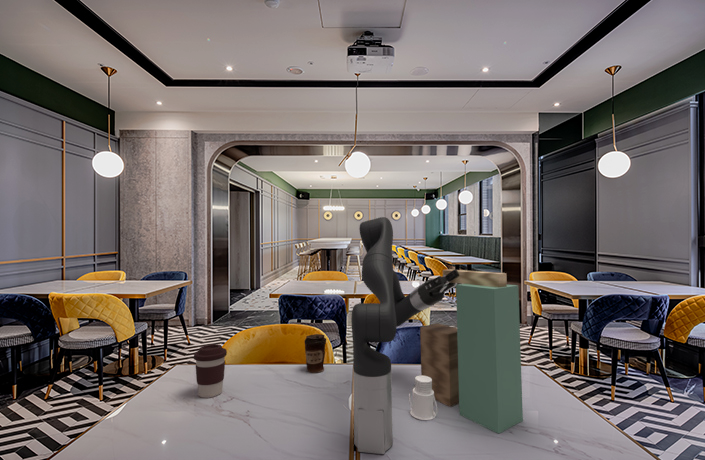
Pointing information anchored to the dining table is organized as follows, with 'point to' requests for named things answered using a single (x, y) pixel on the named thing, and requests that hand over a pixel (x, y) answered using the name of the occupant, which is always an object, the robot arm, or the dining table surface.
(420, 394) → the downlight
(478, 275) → the beech bar
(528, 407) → the dining table surface
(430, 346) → the walnut block
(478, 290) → the green stand
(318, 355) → the coffee cup
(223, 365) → the coffee cup
